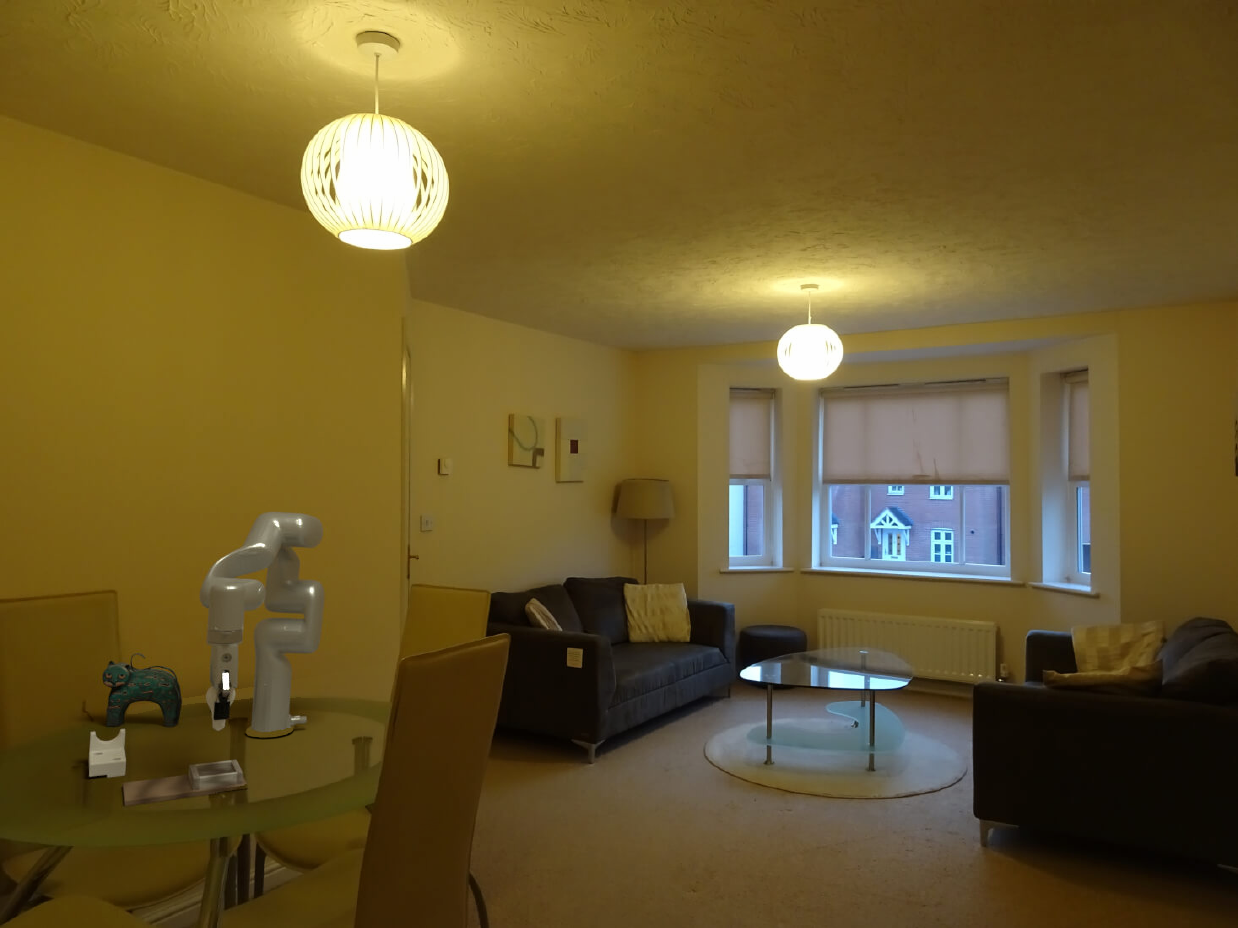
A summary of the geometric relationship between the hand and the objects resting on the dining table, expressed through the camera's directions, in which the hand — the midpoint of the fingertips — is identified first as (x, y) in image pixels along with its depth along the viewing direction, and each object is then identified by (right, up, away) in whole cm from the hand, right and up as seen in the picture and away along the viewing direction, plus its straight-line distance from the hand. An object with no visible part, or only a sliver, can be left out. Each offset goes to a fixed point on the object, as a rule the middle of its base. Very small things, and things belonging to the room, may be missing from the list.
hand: (219, 715), depth 191 cm
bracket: (-30, -15, +6) cm, 34 cm away
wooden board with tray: (-6, -15, -4) cm, 17 cm away
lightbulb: (0, -4, 0) cm, 4 cm away
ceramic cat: (-41, -15, +40) cm, 59 cm away
